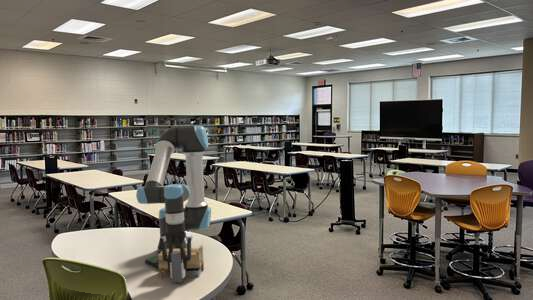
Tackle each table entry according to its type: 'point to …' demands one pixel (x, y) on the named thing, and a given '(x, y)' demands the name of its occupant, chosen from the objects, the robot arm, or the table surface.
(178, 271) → the grey rectangular block
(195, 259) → the cabinet
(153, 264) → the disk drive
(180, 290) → the table surface
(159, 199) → the robot arm
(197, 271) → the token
